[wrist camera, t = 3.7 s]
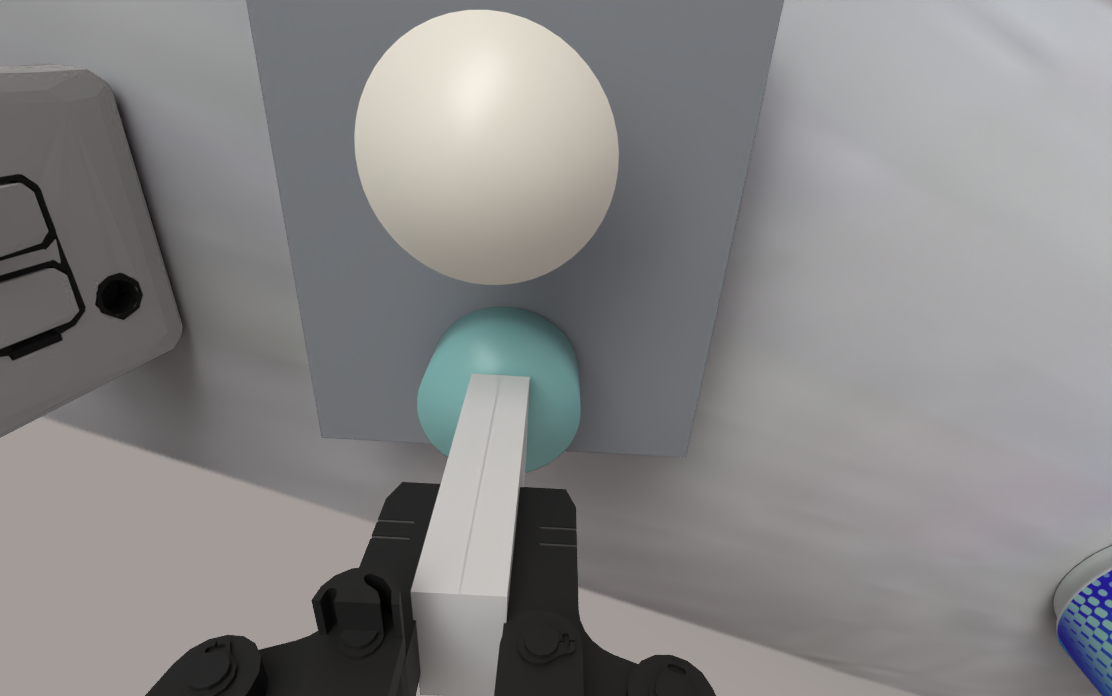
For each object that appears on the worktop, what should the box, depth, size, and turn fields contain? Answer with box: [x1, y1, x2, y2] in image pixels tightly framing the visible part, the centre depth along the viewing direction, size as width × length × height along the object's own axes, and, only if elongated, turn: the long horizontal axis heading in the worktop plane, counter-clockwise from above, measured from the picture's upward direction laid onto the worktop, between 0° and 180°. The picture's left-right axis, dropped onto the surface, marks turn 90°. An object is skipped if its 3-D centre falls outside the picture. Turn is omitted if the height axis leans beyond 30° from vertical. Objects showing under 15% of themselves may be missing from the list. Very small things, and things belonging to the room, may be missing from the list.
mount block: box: [246, 0, 784, 457], centre depth 17 cm, size 13×12×4 cm
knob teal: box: [417, 307, 581, 472], centre depth 18 cm, size 4×4×6 cm
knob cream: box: [354, 10, 619, 285], centre depth 12 cm, size 4×4×6 cm
